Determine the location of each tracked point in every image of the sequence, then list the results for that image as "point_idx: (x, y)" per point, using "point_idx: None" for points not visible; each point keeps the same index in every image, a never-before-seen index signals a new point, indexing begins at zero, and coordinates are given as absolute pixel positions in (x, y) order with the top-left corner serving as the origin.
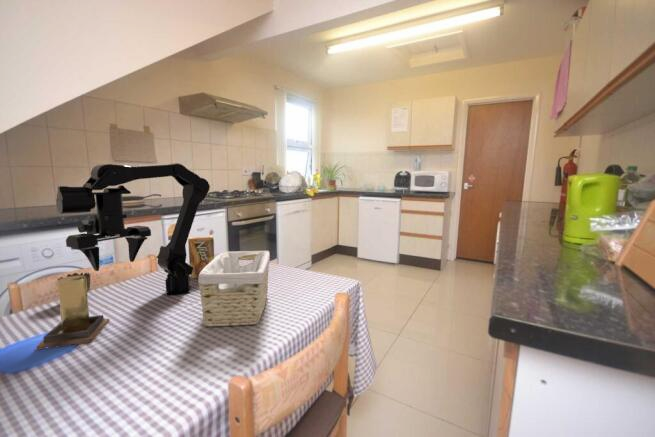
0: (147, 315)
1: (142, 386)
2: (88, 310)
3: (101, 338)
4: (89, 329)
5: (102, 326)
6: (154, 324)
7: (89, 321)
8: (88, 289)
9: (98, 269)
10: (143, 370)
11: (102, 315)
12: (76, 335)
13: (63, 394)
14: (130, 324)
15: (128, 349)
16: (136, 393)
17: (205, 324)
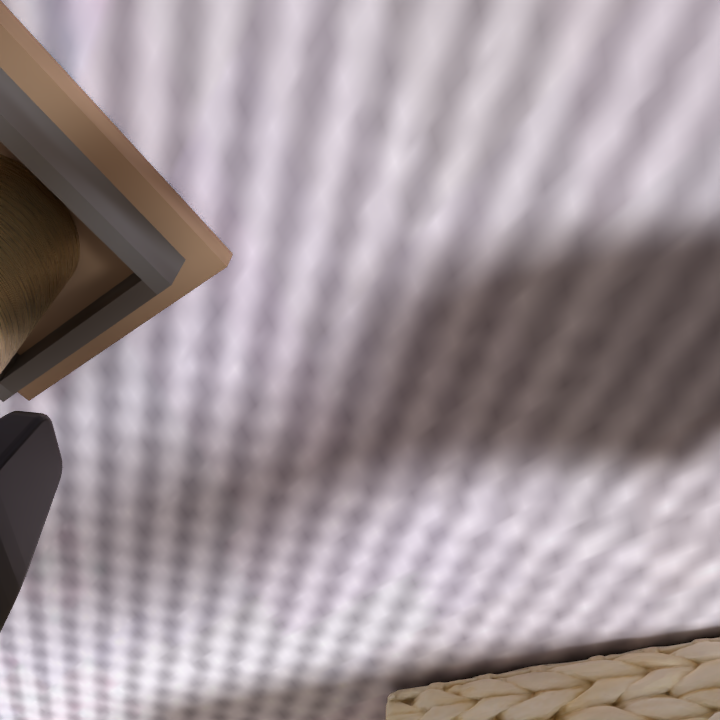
0: (405, 413)
1: (40, 690)
2: (3, 369)
3: (87, 397)
4: (16, 389)
5: (135, 328)
6: (327, 516)
7: (53, 300)
8: None
9: (41, 502)
10: (79, 660)
11: (164, 286)
12: None
13: None
14: (269, 411)
15: (115, 560)
16: (16, 693)
17: (388, 702)
